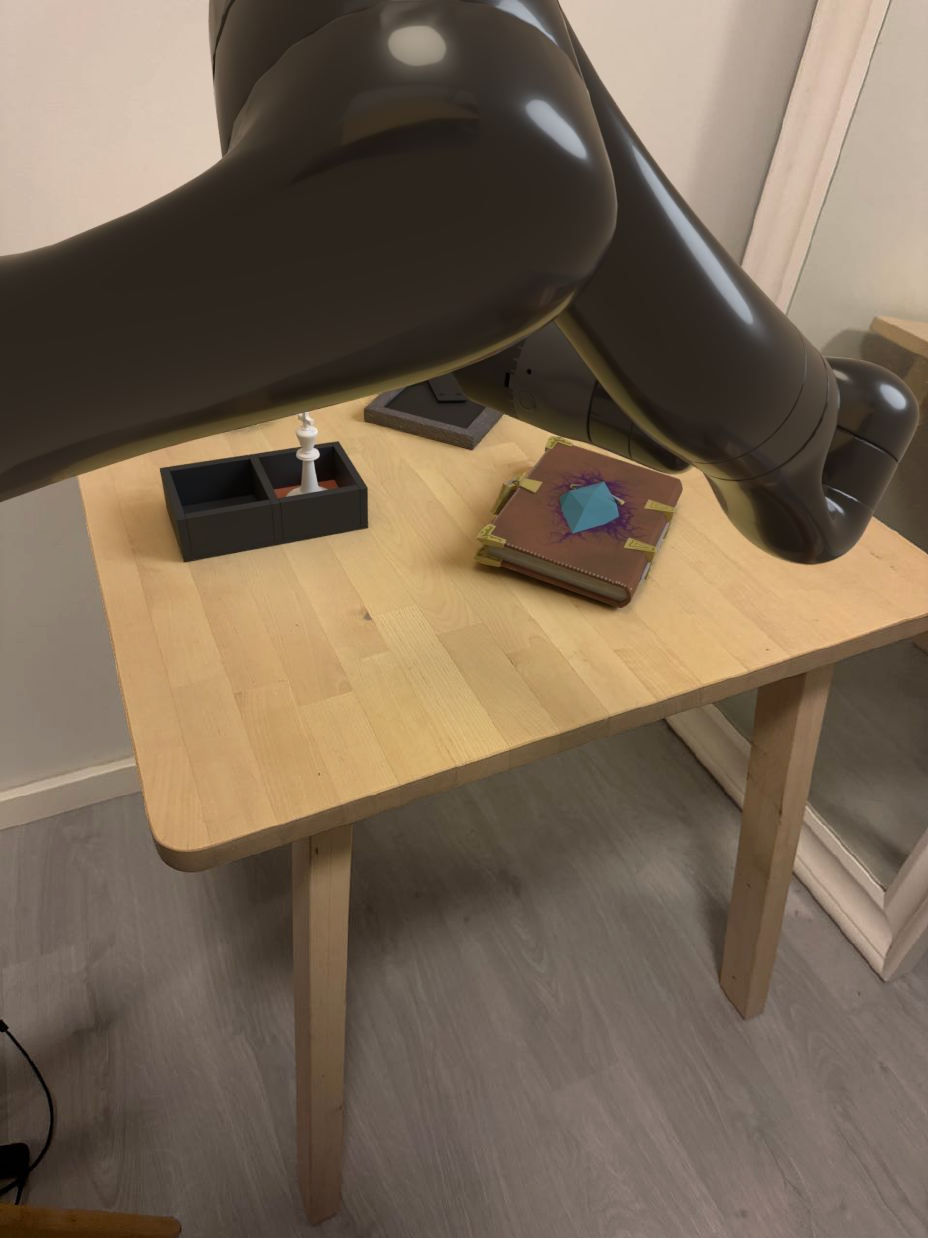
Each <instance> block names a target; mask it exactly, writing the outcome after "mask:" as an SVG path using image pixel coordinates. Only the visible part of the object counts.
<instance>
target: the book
mask: <svg viewBox="0 0 928 1238" xmlns="http://www.w3.org/2000/svg"><path fill="white" fill-rule="evenodd" d="M682 483H683V482H682V481H681V479H680V478H678V477H675V476H673V475H671V474H666V473H662V472H659V471H656V470H653V469H651V468H648V467H645V466H642V465H641V466H640V465H638V464H634V463H631V462H628V461H624V460H622V459H618V458H615V457H612V456H609V455H606V454H603V453H600V452H596V451H593V450H590V449H587V448H584V447H581V446H578V445H574V443H573V442H572V441H571V440H570V441H569V439H567V438H563V437H560V436H557V435H551V436H549V437H548V438H547V441H546V444H545V447H544V453H543V454H542V455H541V457H540V458H539V460H537V462H536V463H535V464H534V466H533V467H532V469H531V470H530V472H529V473H528V474H527V472H526V471H524V472H523V473H522V475H521V476H513V478H512V479H510V480H509V481H508V482H506V484H505V483H504V482H503V483H502V485H501V488H500V491H499V494H498V497H497V499H496V500H495V502H494V504H493V506H492V507H491V509H490V511H489V512H490V514H491V515H493V516H496V517H495V518H494V519H493V521H492V522H491V523H488V524H487V525H486V526H484V527H482V528H481V529H480V531H479V532H478V534H477V536H476V538H475V540H477V541H479V542H480V543H482V544H483V545H482V546H480V547H479V548H477V549H476V552H475V553H474V555H473V557H472V559H474V560H475V561H477V562H479V563H480V564H482V565H487V566H492V567H497V568H500V567H503V568H506V569H509V570H512V571H514V572H517V573H520V574H523V575H524V576H525V575H526V576H528V577H531V578H534V579H537V580H540V581H542V582H545V583H548V584H551V585H554V586H557V587H559V588H562V589H565V590H568V591H571V592H573V593H575V594H576V593H577V594H579V595H581V596H585V597H587V598H590V599H593V600H596V601H599V602H602V603H604V604H607V605H610V606H613V607H616V608H619V609H622V608H624V607H626V606H628V605H629V604H630V603H631V601H632V599H633V597H634V596H635V593H636V591H637V588H638V587H639V586H641V584H642V583H643V581H644V580H645V579H646V580H647V579H648V577H649V575H650V572H651V569H652V565H653V562H654V560H655V556H656V554H657V552H658V550H659V548H660V546H661V543H662V542H663V540H664V539H666V538H667V536H668V533H669V531H670V527H671V524H672V521H673V518H674V515H675V514H676V511H677V508H678V504H679V503H678V502H679V500H680V497H681V496H682V493H683V490H684V487H683V484H682ZM511 484H513V485H512V486H510V485H511Z"/></svg>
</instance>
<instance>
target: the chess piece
mask: <svg viewBox="0 0 928 1238" xmlns="http://www.w3.org/2000/svg"><path fill="white" fill-rule="evenodd" d="M297 420H299V421H301V422H302V425H300V426H298V427H297V428H296V429H295V431H294V432H295V436H296V438H297V440H298V442H299V445H300V447H302V448H301V449H299V450H298V451H297V453H296V456H297V458H298V459H300V460H303V469H302V481H301V487H299V488H296V489H294V490H292V491H290V492H289V493H288V494H287V496H286V497H288V496H294V495H300V494H305V493H311V492H317V491H323V490H328V489H326V488H323V487H319V486H318V483H317V478H316V473H315V467H314V460H315V459H317V458H318V457H319V456H320V454H319V451H318V450H317V449H315V448H313V447H314V445H315V444H316V440H317V437H318V434H319V431H318V428H317V427H315V419H313V418H311V417H310V411H309V412H305V413H301V414H297Z"/></svg>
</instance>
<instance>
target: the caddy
mask: <svg viewBox="0 0 928 1238" xmlns="http://www.w3.org/2000/svg"><path fill="white" fill-rule="evenodd" d="M301 448H302V447H301V446H296V447H289V448H282V449H276V450H270V451H269V450H268V451H263V452H256V453H251V454H243V455H235V456H229V457H222V458H216V459H210V460H203V461H197V462H196V461H195V462H190V463H183V464H177V465H171V466H163V467H159V473H160V478H161V484H162V490H163V495H164V500H165V507H166V511H167V514H168V517H169V520H170V524H171V526H172V529H173V533H174V536H175V538H176V542H177V545H178V548H179V551H180V555H181V557H182V561H183V563H186V562H187V563H188V562H192V561H197V560H203V559H208V558H213V557H218V556H225V555H230V554H234V553H235V554H236V553H240V552H245V551H251V550H257V549H262V548H267V547H272V546H277V545H283V544H289V543H294V542H299V541H305V540H311V539H316V538H320V537H326V536H331V535H336V534H342V533H346V532H348V533H349V532H353V531H359V530H363V529H364V530H365V529H368V528H369V488H368V486H367V484H366V482H365V481H364V479H363V478H362V476H361V475H360V473H359V471H358V470H357V468H356V466H355V465H354V463H353V462H352V460H351V459H350V457H349V455H348V454H347V452H346V450H345V449H344V447H343V446H342V444H341V442H340V441H339V440H337V441H331V442H330V441H329V442H323V443H315V444H314V447H313V448H315V449H317V450H318V451H319V454H320V456H319V457H318V458H317V459H315V460H314V467H315V473H316V478H317V483H318V486H319V487H323V488H326V489H328V490H323V491H317V492H311V493H305V494H300V495H294V496H288V497H286V496H287V494H288V493H289V492H290V491H292V490H294V489H296V488H299V487H301V481H302V469H303V460H300V459H298V458H297V456H296V453H297V451H298V450H299V449H301Z"/></svg>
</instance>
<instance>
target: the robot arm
mask: <svg viewBox="0 0 928 1238" xmlns="http://www.w3.org/2000/svg"><path fill="white" fill-rule="evenodd" d="M207 25H208V43H209V54H210V63H211V64H210V65H211V73H212V74H211V76H212V85H213V86H212V87H213V98H214V106H215V114H216V121H217V129H218V130H217V131H218V137H219V144H220V153H221V158H220V159H219V160H218V161H217V162H216V163H215V164H213V165H212V166H210V167H209V168H207V169H206V170H205V171H203V172H202V173H200V174H199V175H197V176H195V177H194V178H192V179H190V180H188V181H187V182H185V183H183V184H182V185H180V186H179V187H176V188H175V189H173V190H172V191H169V192H168V193H165V194H163V195H162V196H160V197H158V198H156V199H154V200H152V201H150V202H149V203H147V204H144V205H143V206H140V207H139V208H136V209H134V210H133V211H131V212H128V213H126V214H124V215H121V216H119V217H116V218H113V219H111V220H109V221H106V222H104V223H102V224H99V225H97V226H94V227H92V228H89V229H87V230H85V231H83V232H80V233H77V234H75V235H73V236H69V237H67V238H66V239H63V240H60V241H58V242H56V243H53V244H50V245H46V246H42V247H38V248H35V249H30V250H28V251H24V252H18V253H12V254H5V255H0V503H3V502H5V501H9V500H12V499H15V498H17V497H20V496H23V495H25V494H28V493H30V492H35V491H37V490H40V489H42V488H45V487H48V486H51V485H54V484H56V483H59V482H62V481H65V480H68V479H71V478H74V477H78V476H81V475H85V474H88V473H90V472H93V471H96V470H99V469H102V468H105V467H108V466H111V465H114V464H117V463H120V462H125V461H127V460H130V459H134V458H137V457H140V456H143V455H145V454H148V453H152V452H155V451H159V450H163V449H167V448H170V447H175V446H178V445H181V444H184V443H188V442H193V441H196V440H199V439H203V438H207V437H212V436H216V435H221V434H224V433H228V432H232V431H236V430H237V431H238V430H240V429H245V428H248V427H253V426H256V425H261V424H264V423H268V422H273V421H276V420H281V419H284V418H289V417H293V416H298V414H301V413H305V412H309V413H310V412H313V411H317V410H321V409H324V408H328V407H333V406H336V405H340V404H344V403H345V404H346V403H348V402H352V401H356V400H360V399H364V398H367V397H368V398H369V397H371V396H376V395H380V394H381V393H383V392H387V391H390V390H394V389H398V388H402V387H407V386H410V385H412V384H416V383H419V382H422V381H425V380H429V379H432V378H435V377H438V376H441V375H444V374H447V373H450V372H451V374H452V375H453V376H454V378H455V379H456V381H457V383H458V385H459V387H460V389H461V391H462V392H463V394H464V395H465V396H466V397H467V398H468V399H470V400H471V401H473V402H476V403H478V404H480V405H483V406H485V407H488V408H490V409H493V410H495V411H498V412H500V413H503V414H504V415H505V416H508V417H510V418H513V419H515V420H518V421H520V422H523V423H525V424H528V425H530V426H533V427H535V428H537V429H540V430H541V431H544V432H547V433H550V434H553V435H554V436H556V437H562V438H564V439H566V440H570V441H571V440H572V441H576V442H579V443H584V444H588V445H590V446H593V447H596V448H598V449H602V450H604V451H606V452H609V453H612V454H614V455H616V456H618V457H621V458H624V459H626V460H629V461H631V462H633V463H636V464H637V465H638V464H639V465H641V466H642V467H645V468H647V469H650V470H653V471H656V472H659V473H662V474H665V475H670V476H678V475H683V474H686V473H688V472H690V471H692V470H693V469H694V468H695V469H696V470H699V471H700V472H701V473H702V474H703V476H704V477H705V479H706V482H707V483H708V485H709V486H710V489H711V491H712V493H713V494H714V497H715V499H716V501H717V503H718V504H719V507H720V508H721V510H722V512H723V513H724V515H725V517H726V518H727V519H728V521H729V522H730V523H731V525H732V527H734V528H735V529H736V530H737V531H738V532H739V533H740V535H741V536H743V537H744V538H745V539H746V540H747V542H749V543H751V544H752V545H753V546H754V547H756V548H757V549H759V550H761V551H762V552H764V553H765V554H767V555H768V556H771V557H773V558H775V559H777V560H781V561H783V562H785V563H790V564H793V565H801V566H817V565H823V564H828V563H830V562H833V561H835V560H838V559H840V558H841V557H843V556H845V555H846V554H847V553H849V552H850V551H851V550H852V549H853V548H854V547H855V546H856V545H857V544H858V543H859V541H860V540H861V538H862V537H863V536H864V534H865V532H866V530H867V527H868V526H869V524H870V522H871V520H872V518H873V516H874V513H875V511H876V510H877V508H878V505H879V504H880V503H881V500H882V498H883V496H884V494H885V492H886V490H887V488H888V486H889V485H890V482H891V481H892V479H893V477H894V474H895V473H896V472H897V469H898V468H899V467H898V466H899V463H901V461H902V459H903V458H904V455H905V453H906V452H907V449H908V447H909V446H910V444H911V443H912V440H913V437H914V435H915V433H916V431H917V428H918V425H919V421H920V407H919V403H918V400H917V398H916V396H915V394H914V392H913V391H912V389H911V388H910V387H909V386H908V384H906V382H905V381H904V380H903V379H902V378H900V377H899V376H898V375H897V374H896V373H894V372H892V371H891V370H889V369H888V368H886V367H885V366H881V365H879V364H876V363H873V362H871V361H867V360H864V359H863V360H861V359H857V358H851V357H839V356H825V355H823V354H822V353H821V352H820V350H818V349H817V348H816V346H814V344H813V343H812V342H811V341H810V339H809V338H808V337H807V336H806V335H805V334H804V333H803V332H802V330H800V329H799V328H798V326H797V325H796V324H795V323H794V322H793V321H792V320H791V319H790V318H789V316H788V315H786V314H785V313H784V312H783V311H782V310H781V308H780V307H778V306H777V304H776V303H775V302H773V300H772V299H771V298H770V297H769V296H768V295H767V294H766V293H765V292H764V290H762V288H761V287H760V285H758V284H757V283H756V282H755V281H754V280H753V278H752V277H751V276H750V275H749V274H748V273H747V272H746V270H745V269H743V267H742V266H741V265H740V264H739V263H738V262H737V260H736V259H735V258H734V257H733V256H732V255H731V254H730V252H729V251H728V250H727V249H726V247H725V246H724V245H723V244H722V243H721V242H720V241H719V239H718V238H717V237H716V236H715V235H714V234H713V232H712V231H711V230H710V228H709V227H708V226H707V225H706V224H705V223H704V221H703V220H702V219H701V218H700V217H699V216H698V214H697V213H696V211H694V209H693V208H692V207H691V206H690V204H689V203H688V201H686V199H685V198H684V196H683V195H682V194H681V193H680V192H679V191H678V189H677V187H675V185H674V184H673V183H672V181H671V180H670V179H669V178H668V176H667V175H666V173H665V171H663V169H662V168H661V167H660V165H659V164H658V162H657V160H655V158H654V157H653V155H652V154H651V152H650V151H649V150H648V148H647V147H646V145H645V144H644V143H643V141H642V140H641V138H640V136H639V135H638V134H637V132H636V131H635V130H634V128H633V126H632V125H631V124H630V122H629V121H628V119H627V117H626V116H625V115H624V113H623V112H622V110H621V108H620V107H619V105H618V104H617V102H616V101H615V100H614V97H613V96H612V95H611V93H610V92H609V90H608V89H607V87H606V85H605V84H604V82H603V81H602V79H601V77H600V75H599V74H598V72H597V71H596V68H595V66H594V65H593V63H592V61H591V60H590V58H589V56H588V54H587V52H586V51H585V49H584V47H583V45H582V44H581V42H580V40H579V38H578V36H577V34H576V33H575V31H574V29H573V27H572V24H571V23H570V21H569V19H568V17H567V15H566V13H565V12H564V10H563V8H562V6H561V4H560V1H559V0H208V19H207Z"/></svg>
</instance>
